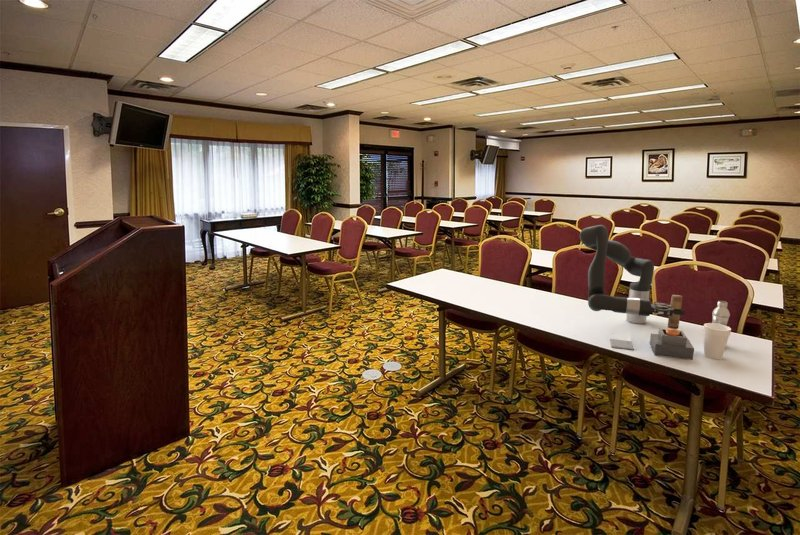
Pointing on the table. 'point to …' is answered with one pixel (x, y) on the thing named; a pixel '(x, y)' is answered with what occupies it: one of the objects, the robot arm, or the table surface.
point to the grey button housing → (671, 345)
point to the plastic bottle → (720, 313)
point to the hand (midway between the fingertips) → (682, 311)
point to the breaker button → (672, 332)
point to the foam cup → (715, 339)
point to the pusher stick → (674, 320)
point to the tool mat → (621, 344)
